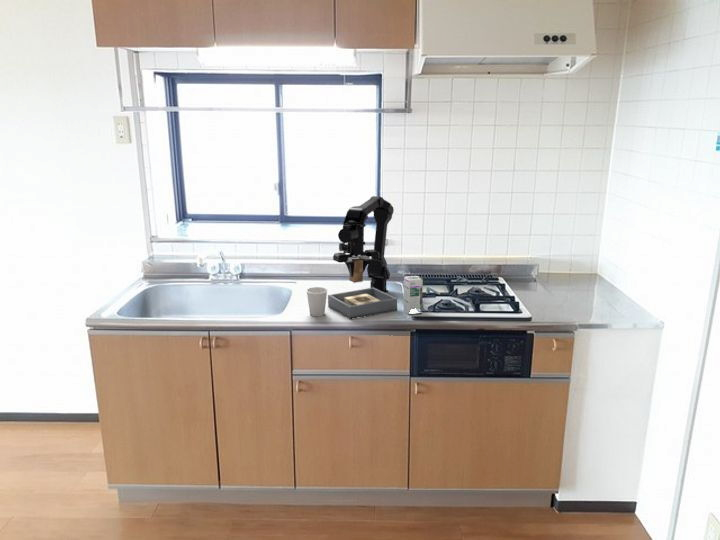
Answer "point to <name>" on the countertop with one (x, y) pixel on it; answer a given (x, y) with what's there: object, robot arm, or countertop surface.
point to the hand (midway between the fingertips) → (356, 276)
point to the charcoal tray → (383, 306)
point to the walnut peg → (357, 271)
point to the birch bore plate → (360, 299)
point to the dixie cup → (317, 300)
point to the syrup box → (412, 293)
